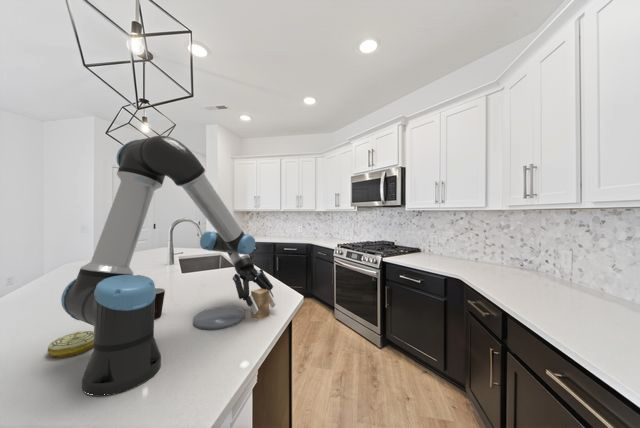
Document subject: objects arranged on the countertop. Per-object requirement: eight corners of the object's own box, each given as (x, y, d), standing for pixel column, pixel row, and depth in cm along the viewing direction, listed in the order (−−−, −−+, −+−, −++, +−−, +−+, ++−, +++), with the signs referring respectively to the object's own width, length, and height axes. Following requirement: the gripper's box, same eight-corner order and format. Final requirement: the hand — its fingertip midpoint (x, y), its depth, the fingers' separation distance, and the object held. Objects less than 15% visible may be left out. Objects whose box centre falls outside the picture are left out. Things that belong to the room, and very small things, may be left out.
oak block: (258, 319, 94) (259, 293, 94) (250, 316, 97) (251, 291, 97) (268, 315, 98) (269, 290, 98) (260, 312, 101) (261, 288, 101)
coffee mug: (169, 313, 98) (170, 288, 98) (152, 323, 89) (153, 295, 90) (142, 312, 99) (143, 287, 99) (123, 321, 91) (124, 293, 91)
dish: (207, 335, 81) (208, 330, 81) (184, 320, 92) (184, 316, 92) (253, 318, 95) (253, 314, 95) (228, 307, 106) (228, 303, 106)
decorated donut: (103, 337, 79) (104, 325, 79) (91, 354, 69) (92, 341, 69) (59, 344, 74) (59, 332, 74) (39, 363, 64) (39, 349, 65)
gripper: (258, 264, 115) (280, 306, 105) (215, 271, 99) (237, 322, 89) (265, 254, 112) (289, 297, 102) (223, 259, 96) (246, 311, 86)
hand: (265, 309), depth 95 cm, fingers open, 8 cm apart
